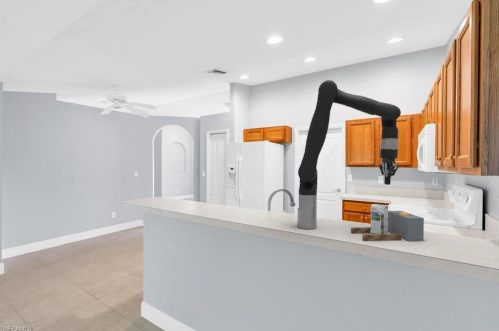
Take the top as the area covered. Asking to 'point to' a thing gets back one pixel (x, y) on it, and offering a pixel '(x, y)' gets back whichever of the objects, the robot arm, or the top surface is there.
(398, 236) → the guide rails
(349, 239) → the top surface
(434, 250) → the top surface
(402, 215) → the gauge button
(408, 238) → the end cabinet
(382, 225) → the syrup box
